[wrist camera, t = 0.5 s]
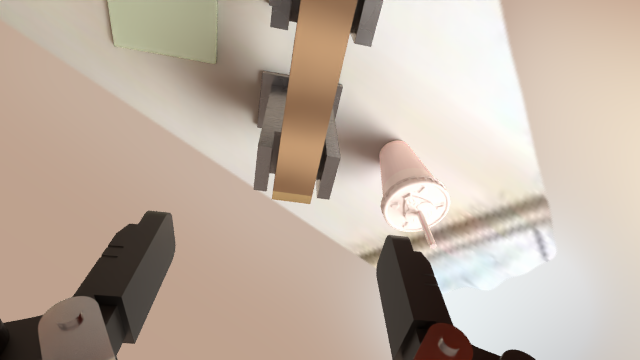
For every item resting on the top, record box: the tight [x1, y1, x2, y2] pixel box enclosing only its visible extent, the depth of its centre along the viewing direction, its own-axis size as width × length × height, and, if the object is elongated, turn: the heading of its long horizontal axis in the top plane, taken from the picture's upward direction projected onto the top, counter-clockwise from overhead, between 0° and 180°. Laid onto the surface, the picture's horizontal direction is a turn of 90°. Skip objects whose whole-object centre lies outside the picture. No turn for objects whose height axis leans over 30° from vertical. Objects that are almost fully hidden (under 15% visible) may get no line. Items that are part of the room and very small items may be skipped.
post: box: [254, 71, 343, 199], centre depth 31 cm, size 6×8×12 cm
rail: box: [272, 0, 357, 204], centre depth 23 cm, size 17×3×3 cm, turn 169°
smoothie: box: [379, 140, 450, 249], centre depth 34 cm, size 6×6×14 cm
